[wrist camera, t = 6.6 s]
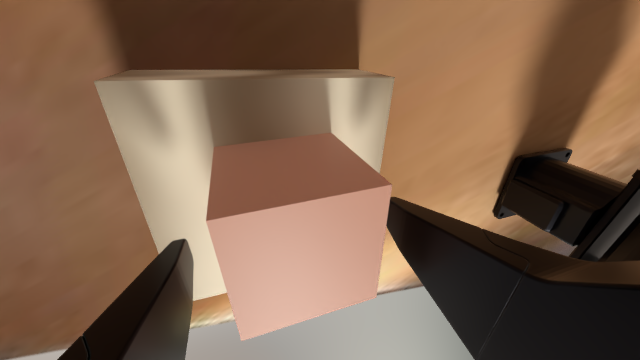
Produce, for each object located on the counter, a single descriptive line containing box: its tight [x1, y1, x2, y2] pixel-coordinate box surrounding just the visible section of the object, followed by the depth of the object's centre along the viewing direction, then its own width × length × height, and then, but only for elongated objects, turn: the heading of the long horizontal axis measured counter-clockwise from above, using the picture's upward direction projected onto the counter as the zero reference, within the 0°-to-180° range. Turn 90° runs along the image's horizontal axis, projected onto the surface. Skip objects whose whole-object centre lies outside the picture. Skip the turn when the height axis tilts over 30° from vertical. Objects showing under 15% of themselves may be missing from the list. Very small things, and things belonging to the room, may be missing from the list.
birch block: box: [94, 69, 395, 301], centre depth 14 cm, size 11×11×4 cm
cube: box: [206, 133, 392, 341], centre depth 10 cm, size 5×5×5 cm
